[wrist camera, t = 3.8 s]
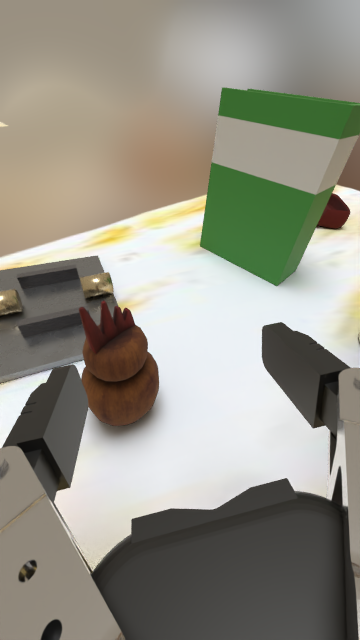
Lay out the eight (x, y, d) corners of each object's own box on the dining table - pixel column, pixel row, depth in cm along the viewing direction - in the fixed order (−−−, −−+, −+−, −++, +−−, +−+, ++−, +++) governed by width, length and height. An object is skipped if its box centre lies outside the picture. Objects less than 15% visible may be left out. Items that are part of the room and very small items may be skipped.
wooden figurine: (101, 446, 23) (58, 343, 13) (86, 395, 27) (42, 281, 16) (166, 415, 26) (175, 307, 16) (145, 372, 30) (140, 260, 19)
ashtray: (322, 240, 58) (333, 218, 55) (265, 214, 67) (272, 194, 63) (356, 223, 67) (367, 204, 64) (302, 202, 76) (309, 184, 72)
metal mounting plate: (98, 260, 45) (94, 239, 43) (132, 345, 32) (130, 323, 29) (-5, 276, 40) (-17, 254, 37) (-14, 387, 27) (-34, 365, 24)
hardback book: (199, 246, 52) (222, 87, 35) (221, 235, 56) (251, 89, 39) (276, 286, 44) (353, 105, 27) (295, 270, 48) (373, 104, 31)
